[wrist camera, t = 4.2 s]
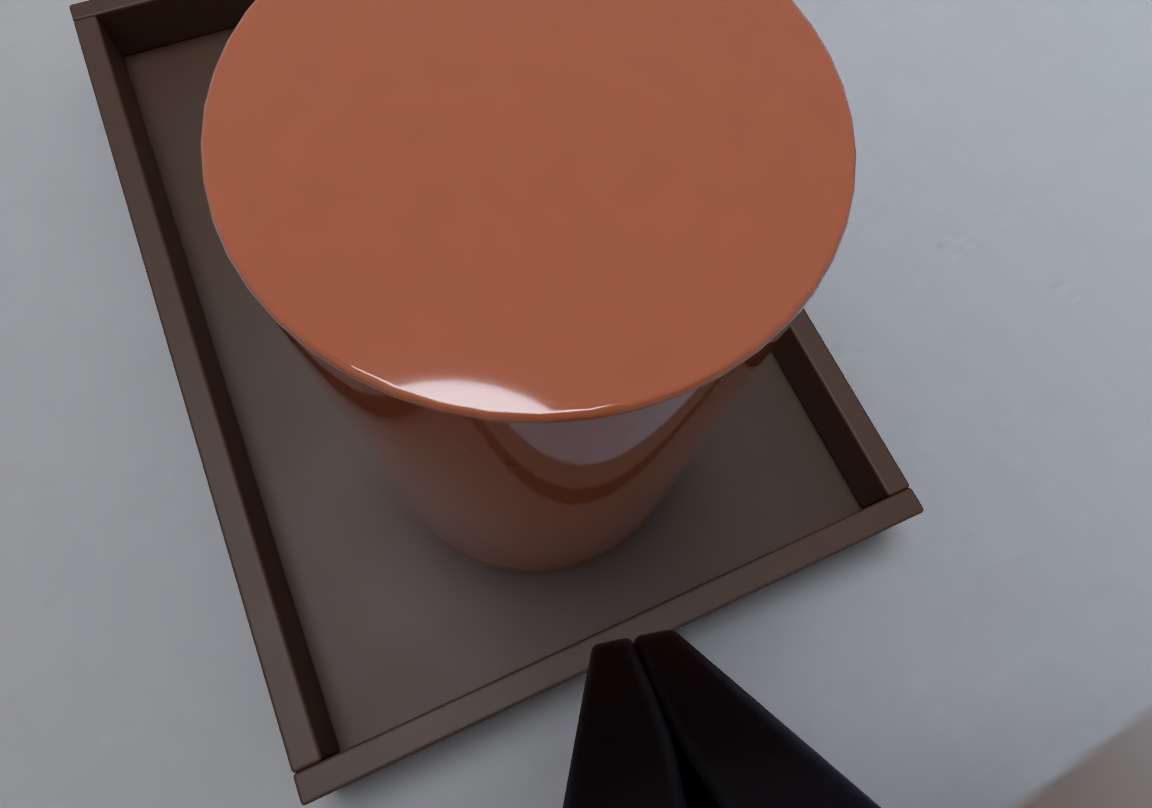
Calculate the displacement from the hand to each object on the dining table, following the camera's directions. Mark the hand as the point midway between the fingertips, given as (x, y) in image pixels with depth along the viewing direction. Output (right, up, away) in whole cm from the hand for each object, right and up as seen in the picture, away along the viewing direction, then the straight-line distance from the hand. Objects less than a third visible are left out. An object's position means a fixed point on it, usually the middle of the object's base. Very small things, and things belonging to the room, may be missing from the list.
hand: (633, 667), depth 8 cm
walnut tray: (-4, +6, +13) cm, 15 cm away
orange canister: (-2, +2, +11) cm, 11 cm away
